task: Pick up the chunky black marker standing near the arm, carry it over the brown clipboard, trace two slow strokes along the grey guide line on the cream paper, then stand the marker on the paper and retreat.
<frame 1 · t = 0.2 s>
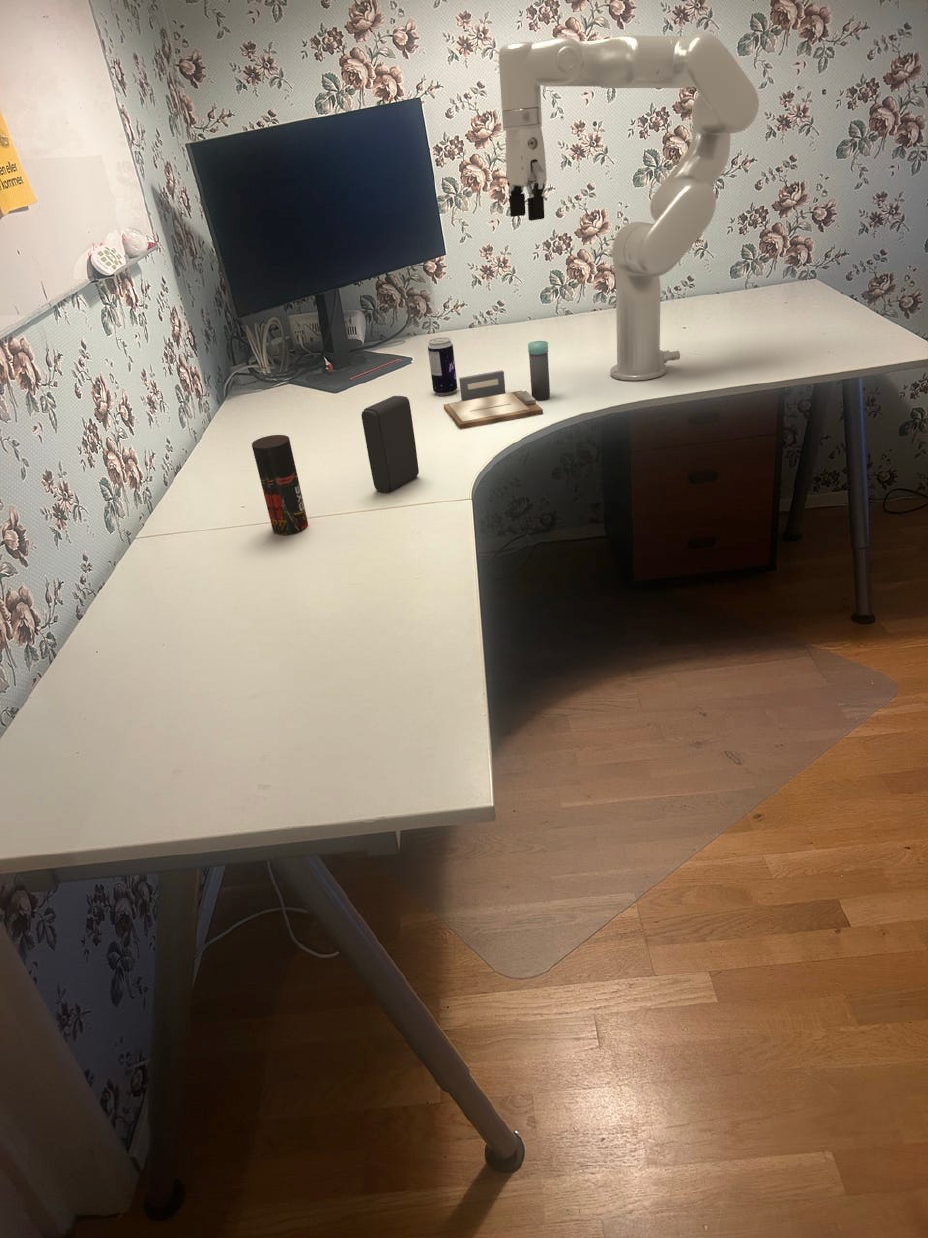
hand: (527, 217, 172), 36 cm above the table, tool pointing down, fingers open, 9 cm apart
beverage can: (445, 393, 197), on the table
deodorant: (290, 528, 142), on the table
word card: (483, 396, 191), on the table
marker: (541, 397, 186), on the table
clipboard: (492, 411, 182), on the table
dark grey rounded block: (397, 484, 153), on the table
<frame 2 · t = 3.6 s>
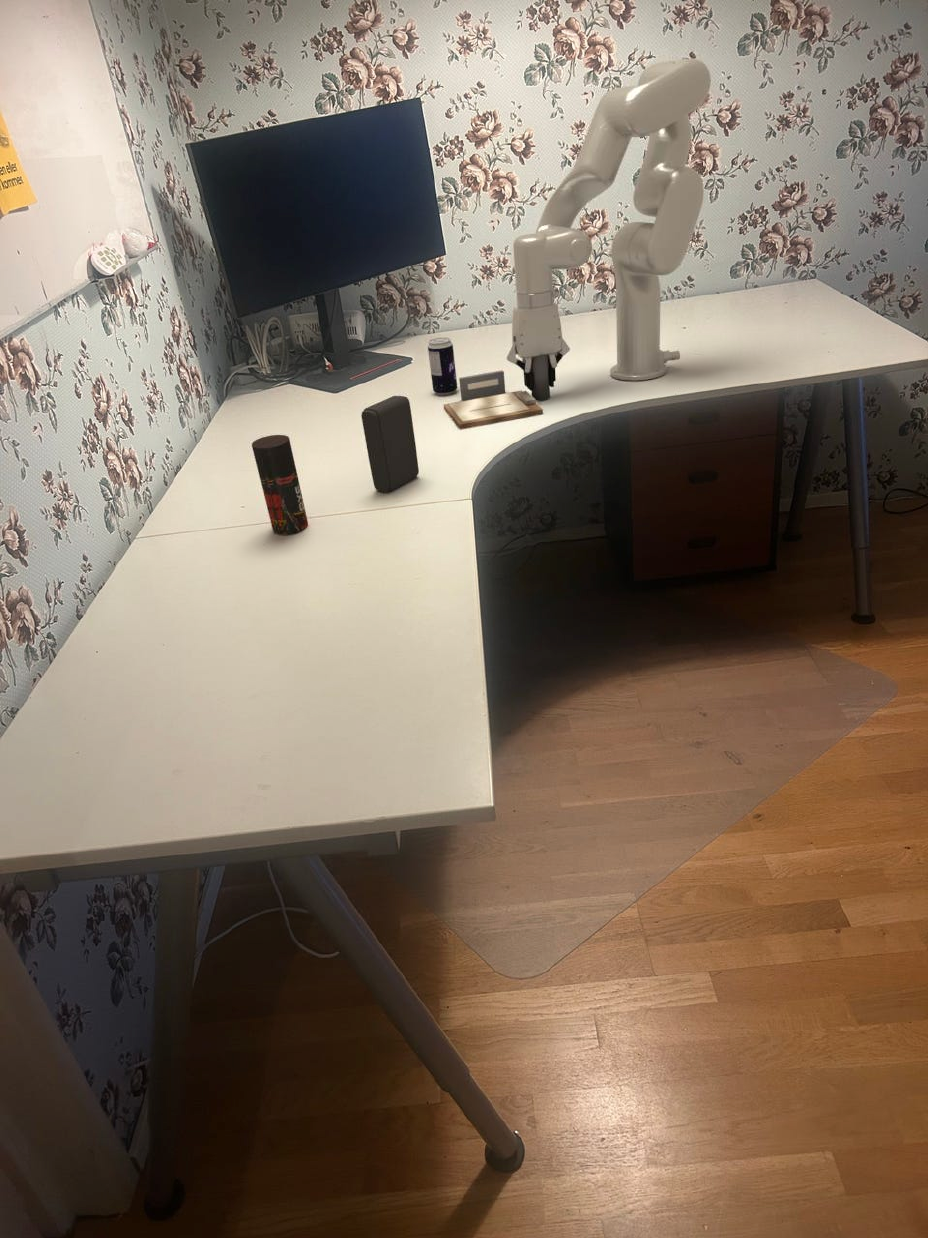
hand: (540, 386, 185), 3 cm above the table, tool pointing down, fingers closed on marker, 4 cm apart
marker: (541, 397, 186), on the table, touching gripper
everything else where it was.
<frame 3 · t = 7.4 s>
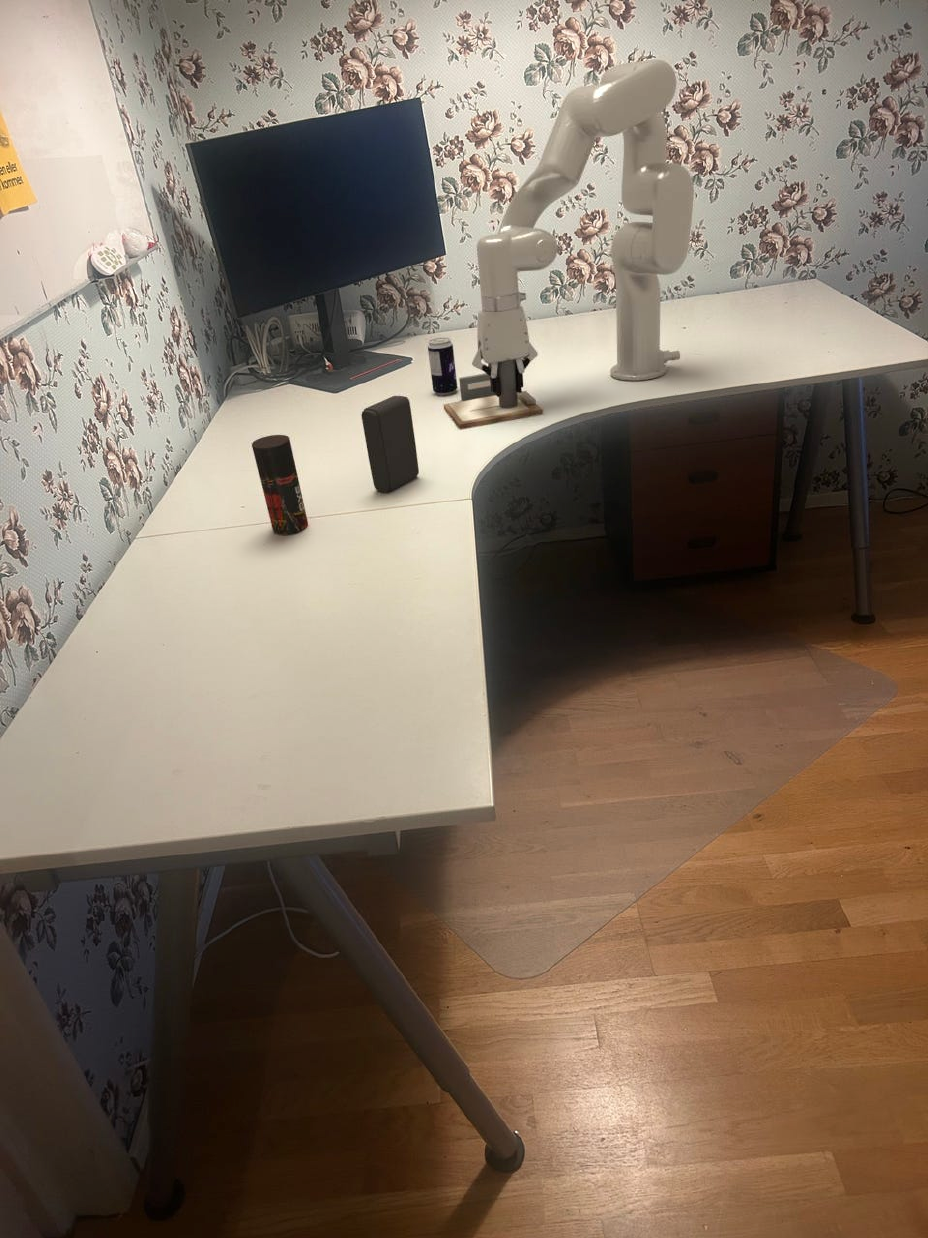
hand: (507, 392, 179), 4 cm above the table, tool pointing down, fingers closed on marker, 4 cm apart
marker: (508, 404, 180), point 2 cm above the table, touching gripper
everything else where it was.
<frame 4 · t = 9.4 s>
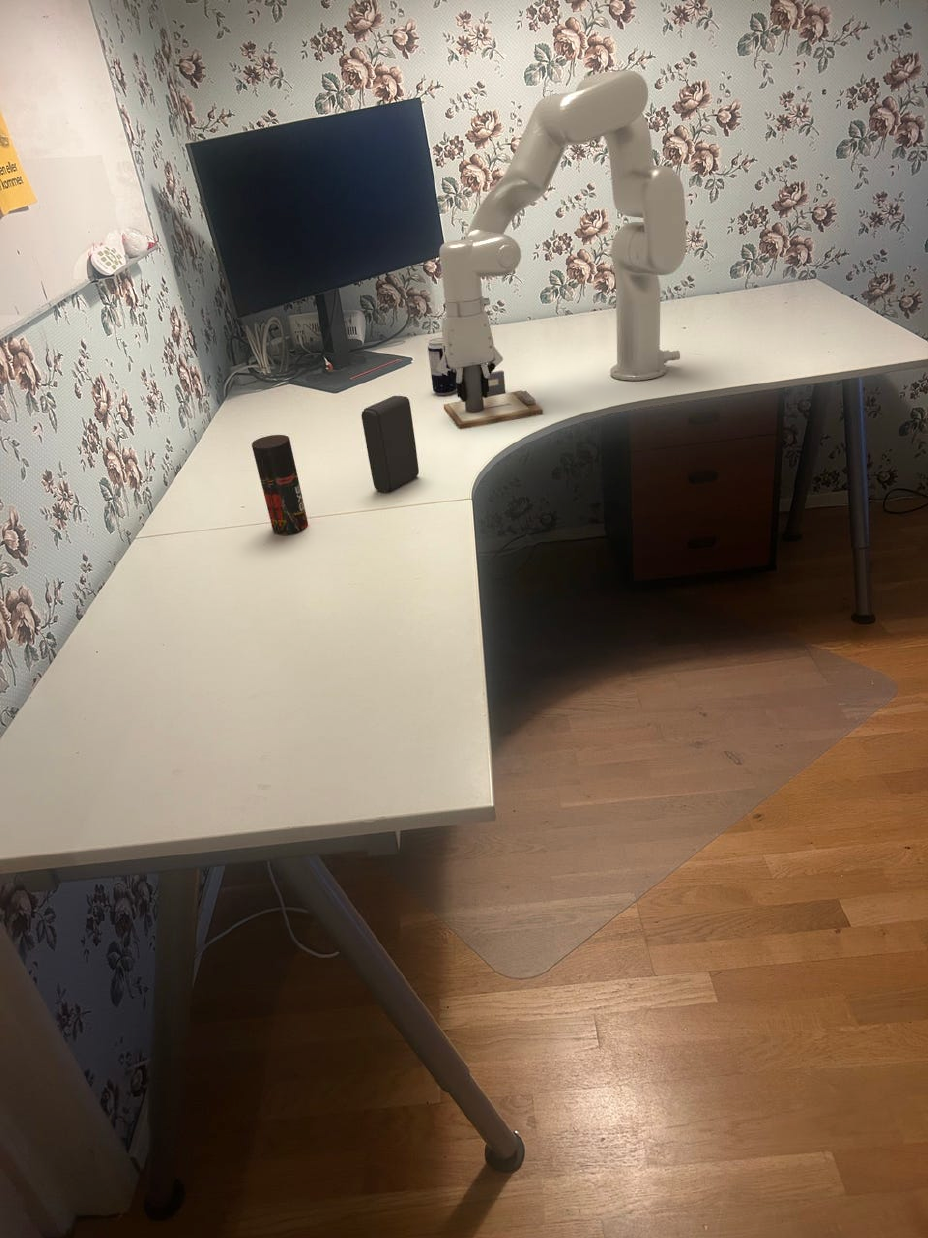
hand: (473, 397, 179), 4 cm above the table, tool pointing down, fingers closed on marker, 4 cm apart
marker: (474, 409, 180), point 1 cm above the table, touching gripper
everything else where it was.
when the fingers open (4 cm above the table, at t = 11.1 s): marker stays where it is, resting on clipboard.
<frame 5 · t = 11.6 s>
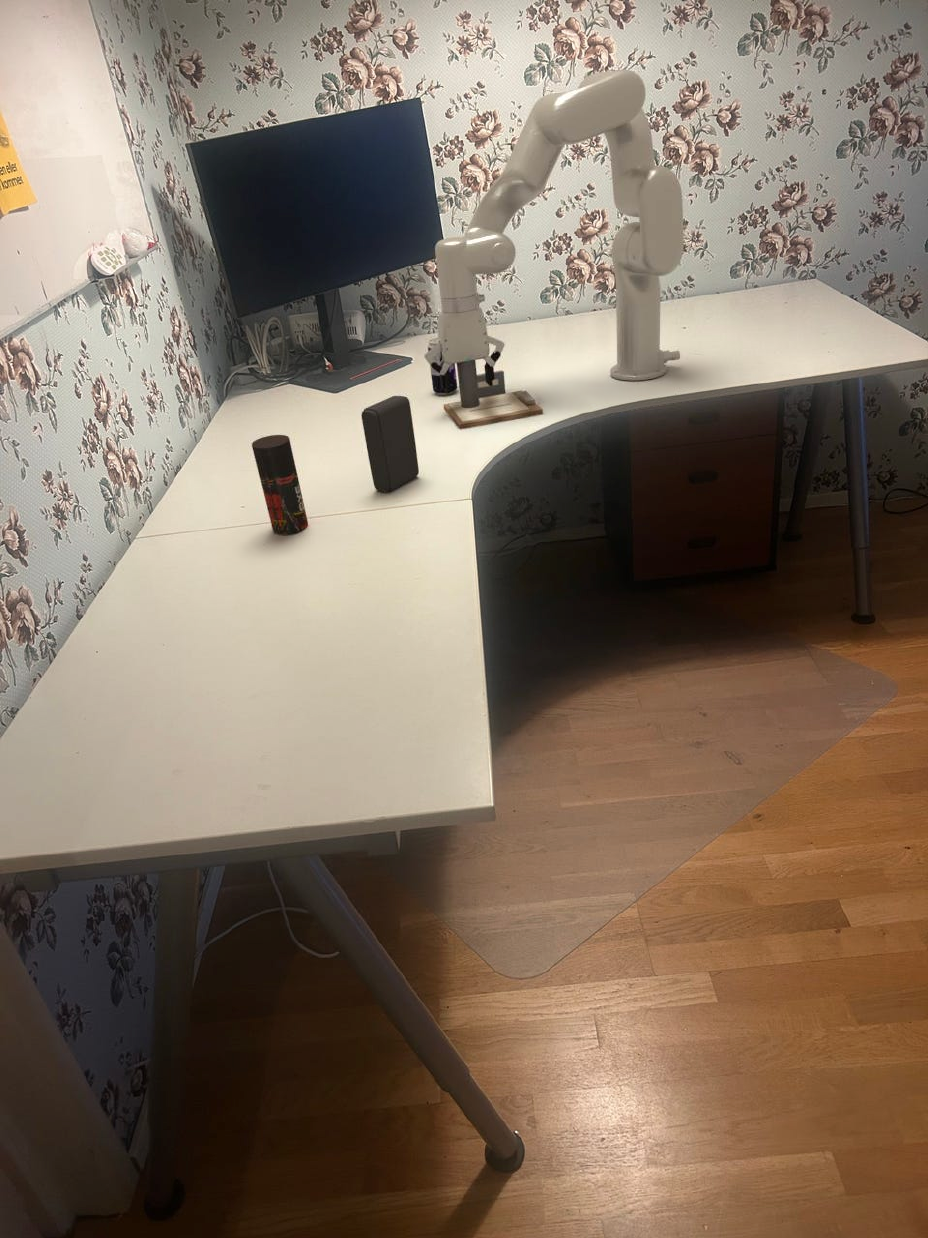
hand: (468, 387, 181), 5 cm above the table, tool pointing down, fingers open, 9 cm apart
marker: (470, 405, 183), point 1 cm above the table, touching clipboard
everything else where it was.
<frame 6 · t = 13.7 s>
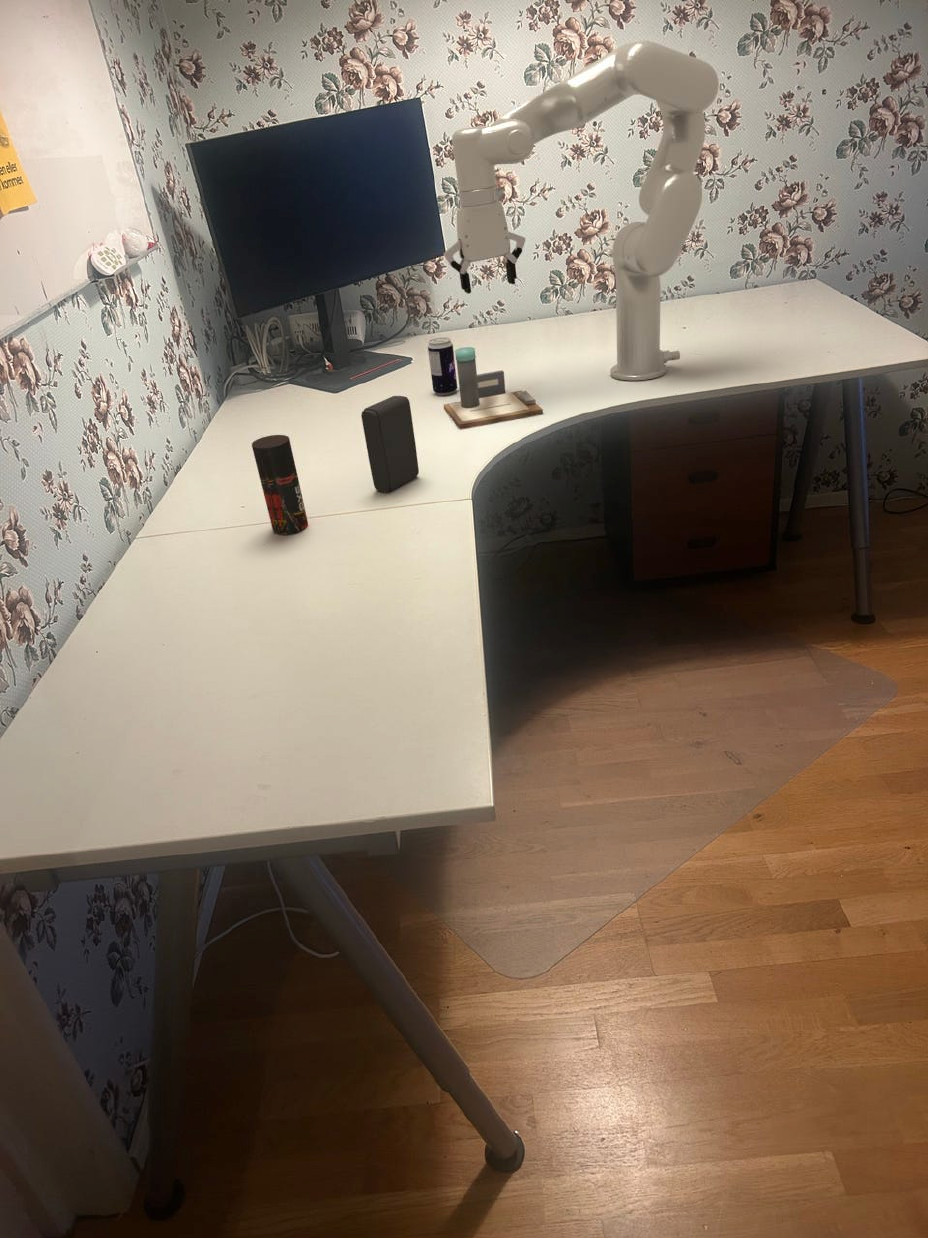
hand: (489, 287, 178), 23 cm above the table, tool pointing down, fingers open, 9 cm apart
nothing on the table moved.
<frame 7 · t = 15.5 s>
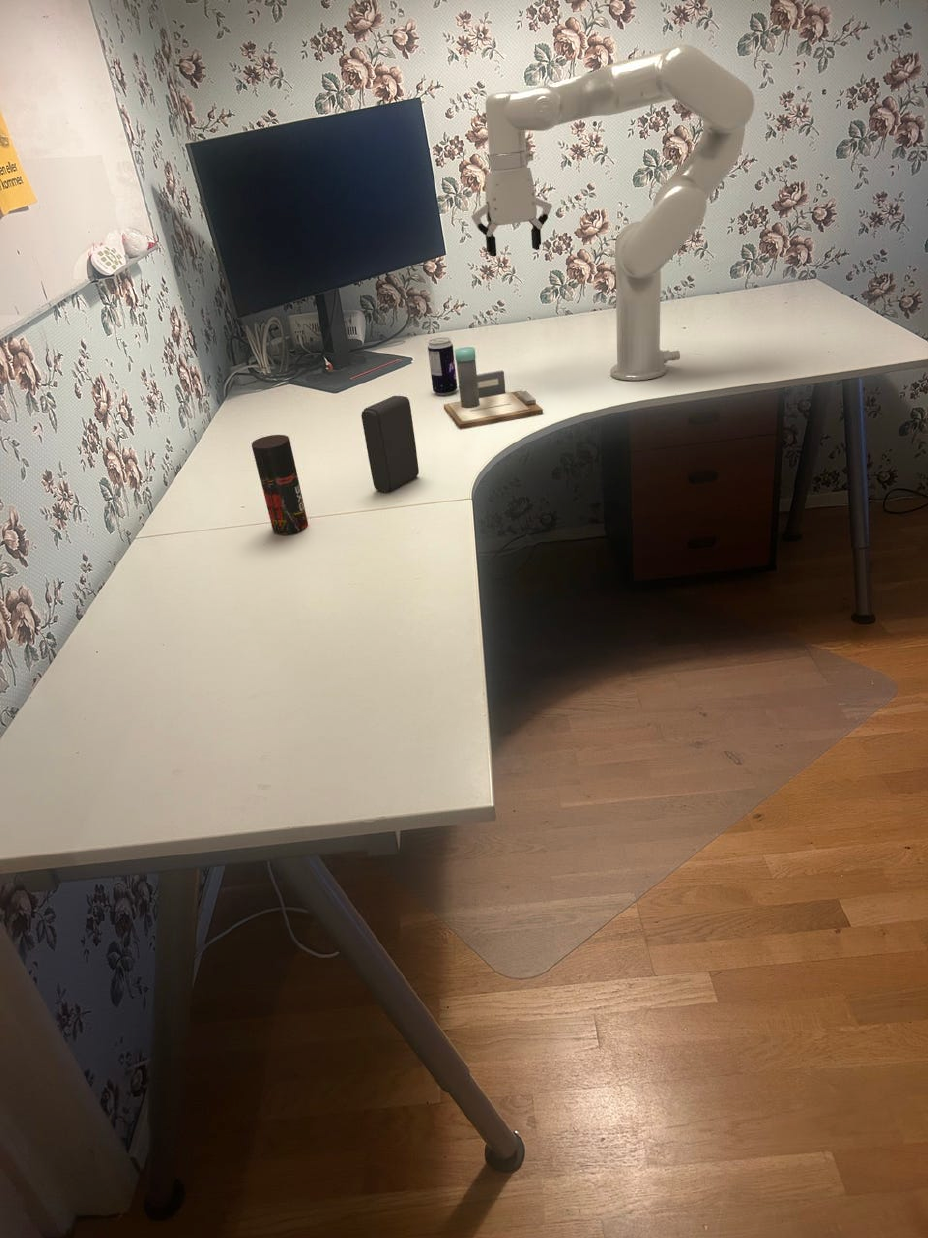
hand: (514, 252, 183), 28 cm above the table, tool pointing down, fingers open, 9 cm apart
nothing on the table moved.
at the end: marker inside the target area on the clipboard (4.9 cm from its centre), point 1.2 cm above the clipboard's base; marker tilted 0°; the gripper is holding nothing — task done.
